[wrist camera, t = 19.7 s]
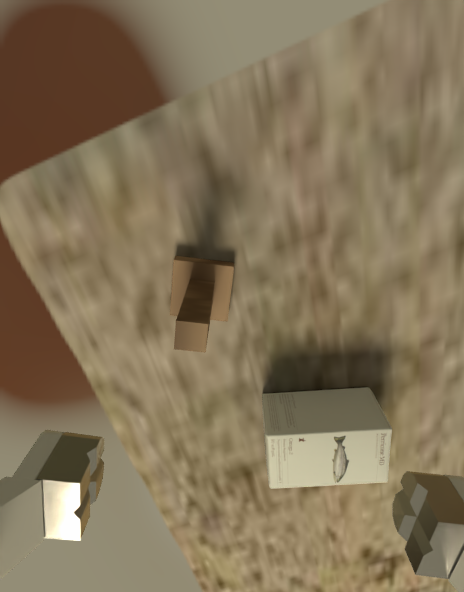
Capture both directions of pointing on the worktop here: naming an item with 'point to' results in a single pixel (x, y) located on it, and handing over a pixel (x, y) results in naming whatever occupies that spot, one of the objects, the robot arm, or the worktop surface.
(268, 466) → the supplement box
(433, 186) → the worktop surface
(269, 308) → the worktop surface
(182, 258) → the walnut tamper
